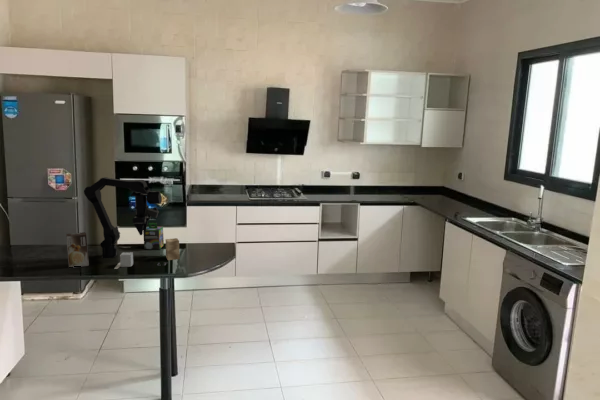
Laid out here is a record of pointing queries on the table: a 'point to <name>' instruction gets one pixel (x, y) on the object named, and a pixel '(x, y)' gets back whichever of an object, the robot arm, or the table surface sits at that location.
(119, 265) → the plain tile
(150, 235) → the chalk box
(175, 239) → the oak block
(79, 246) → the coffee box
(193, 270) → the table surface
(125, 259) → the grey block
